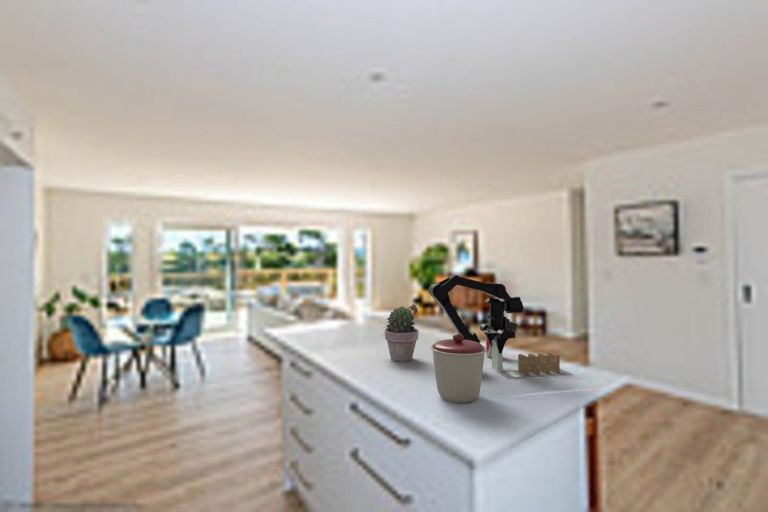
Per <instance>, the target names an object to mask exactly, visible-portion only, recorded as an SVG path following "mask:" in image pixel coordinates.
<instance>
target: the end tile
mask: <svg viewBox="0 0 768 512" xmlns="http://www.w3.org/2000/svg"><path fill="white" fill-rule="evenodd" d="M547 355H548V356H550V371H552V372H554V373H560V369H561V368H560V366H561V365H560V364H561V363H560V359H561V358H560V354H557V353H554V352H552V351H550V352H547Z"/></svg>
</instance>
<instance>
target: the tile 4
mask: <svg viewBox="0 0 768 512" xmlns="http://www.w3.org/2000/svg"><path fill="white" fill-rule="evenodd" d="M537 356H539V367H540V371H541V372H543V373H545V374H550V356H548V354H545V353H542V352H538V353H537Z"/></svg>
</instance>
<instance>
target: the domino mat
mask: <svg viewBox="0 0 768 512" xmlns="http://www.w3.org/2000/svg"><path fill="white" fill-rule="evenodd" d="M494 372H495V373H496V374H498V375H500V376H502V377H504V378H506V379H507V380H518V379H532V378H533V379H534V378H545V377H555V376H557V377H558V376H568V375H569V376H570V375H573V373H572V372H569V371H567V370H564V369H562V368H560V373H554V372H552V371H550V374H545V373H543V372H541V371H540V375H535V374H533V373H531V372H529V375H528V376H525V375H523V374H521V373H519V372H518V369H513V370H503V371H497V370H495V371H494Z"/></svg>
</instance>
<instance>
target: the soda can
mask: <svg viewBox="0 0 768 512" xmlns="http://www.w3.org/2000/svg"><path fill="white" fill-rule="evenodd" d="M485 347H486V349H487V351H486V352H485V356H486V357H487V358H489V359H492V348H491V346H490V344H489V341H488V339H487V337H486V336H485Z"/></svg>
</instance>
